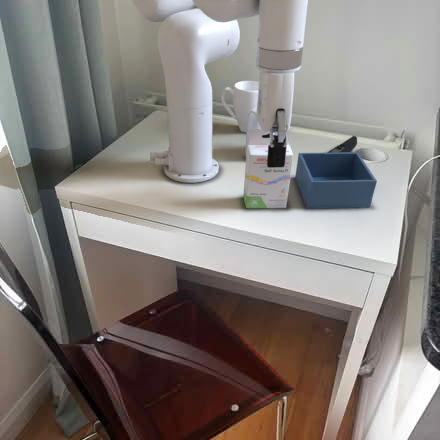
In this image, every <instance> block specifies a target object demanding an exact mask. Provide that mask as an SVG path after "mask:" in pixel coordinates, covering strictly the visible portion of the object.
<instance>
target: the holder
mask: <svg viewBox="0 0 440 440" xmlns="http://www.w3.org/2000/svg"><path fill="white" fill-rule="evenodd" d="M367 165H368V164H367V163H366V162H365V160H364V159H363V157H361V155H360V153H359V152H358V151H354V152H353V151H351V152H338V153H327V152H298V155H297V161H296V170H295V177H294V179H295V182H296V183H297V187H298V189H299V191H300V194H301V196H302V199H303V201H304V204H305V207H306V209H310V210H311V209H351V208H352V209H354V208H357V209H359V208H370V207H371V204H372V201H373V198H374V194H375V190H376V186H377V184H378V181H377V178H376V177H375V176H374V174H373V173H372V171H371V170H370V168H369V167H368V166H367Z"/></svg>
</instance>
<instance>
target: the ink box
mask: <svg viewBox="0 0 440 440" xmlns="http://www.w3.org/2000/svg"><path fill="white" fill-rule="evenodd" d="M269 133H270V131H266V133H264V132H263V131H262V130H261V129H250V130H249V138H248V145H247V152H246V153H245V169H244V182H243V200H244V205H245V208H246V209H286V208H287V204H288V203H287V202H288V197H289V190H290V182H291V177H292V168H293V161H294V153H293V150H292V147H291V145H290V144H289V142H290V137H291V129H289V130H288V131H287V132H286V143H287V144H286V156H285V166H284V167H273V168H269V167H267V156H268V145H270V138H262V135H267V134H269ZM274 135H277V134H274Z"/></svg>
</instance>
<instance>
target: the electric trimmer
mask: <svg viewBox="0 0 440 440" xmlns="http://www.w3.org/2000/svg"><path fill="white" fill-rule="evenodd" d="M357 145H358V137H357V136H356V135H352V136H350V137H349V138H348V139H346V140H345V141H343V142H342V143H340V144H338V145H336V146H335V147H333V148H332V149H330V150H329V151H327V152H326V153H338V152H353V150H354V149H355V148H356V147H357Z"/></svg>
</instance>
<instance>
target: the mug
mask: <svg viewBox="0 0 440 440" xmlns="http://www.w3.org/2000/svg"><path fill="white" fill-rule="evenodd" d="M258 90H259V81H257V80H242V81H238V82H235V84H234V85H233V88H232V87H225V88H223V90H222V92H221V97H220V98H221V100H220V101H221V103H222V105H223V107H224V109H225V110H226V111H227V113H228V114H229V115H230V116H231V117H232V118H233V119H234V120H235V121H236V122H237V125H238V129H239V131H240V132H241V133H245V134H247V121H248V114H249V112H250V111H251V110H252V109H253V108H255V107H257V102H258ZM226 91H228V92H229V93H230V94H231V95H232V103H233V104H232V106H233V110H232V109H231V108H230V107H229V105H228V104H227V102H226ZM233 111H234V112H233Z"/></svg>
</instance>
